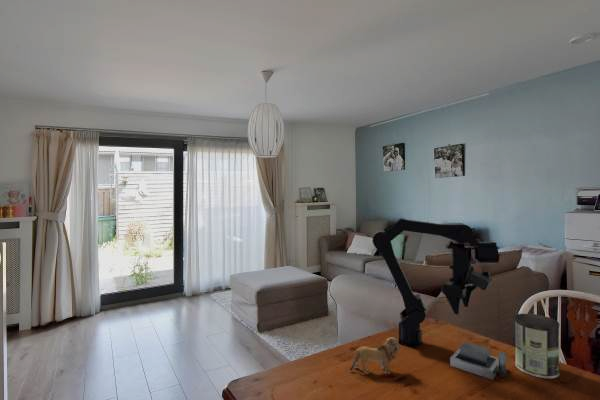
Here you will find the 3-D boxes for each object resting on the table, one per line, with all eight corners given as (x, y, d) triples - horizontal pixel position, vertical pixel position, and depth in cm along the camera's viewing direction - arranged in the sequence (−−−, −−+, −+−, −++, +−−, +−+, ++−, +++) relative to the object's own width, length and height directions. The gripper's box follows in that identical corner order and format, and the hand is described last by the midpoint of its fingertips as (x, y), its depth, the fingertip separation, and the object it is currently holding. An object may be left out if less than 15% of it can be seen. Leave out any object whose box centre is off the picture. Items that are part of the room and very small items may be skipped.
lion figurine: (395, 363, 98) (395, 333, 98) (403, 373, 93) (403, 341, 93) (346, 367, 97) (346, 336, 96) (352, 377, 91) (351, 345, 91)
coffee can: (547, 361, 98) (547, 314, 98) (567, 380, 88) (567, 328, 88) (508, 358, 101) (508, 312, 100) (524, 377, 90) (524, 325, 90)
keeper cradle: (450, 365, 97) (450, 345, 97) (460, 354, 103) (460, 335, 103) (502, 383, 88) (502, 360, 87) (510, 369, 94) (510, 348, 94)
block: (459, 363, 97) (459, 346, 97) (464, 358, 100) (464, 341, 100) (486, 371, 92) (486, 354, 92) (490, 366, 95) (490, 349, 95)
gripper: (480, 271, 95) (480, 325, 96) (497, 261, 109) (497, 308, 109) (440, 265, 103) (440, 316, 103) (461, 257, 117) (461, 301, 117)
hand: (461, 310), depth 108 cm, fingers open, 9 cm apart
